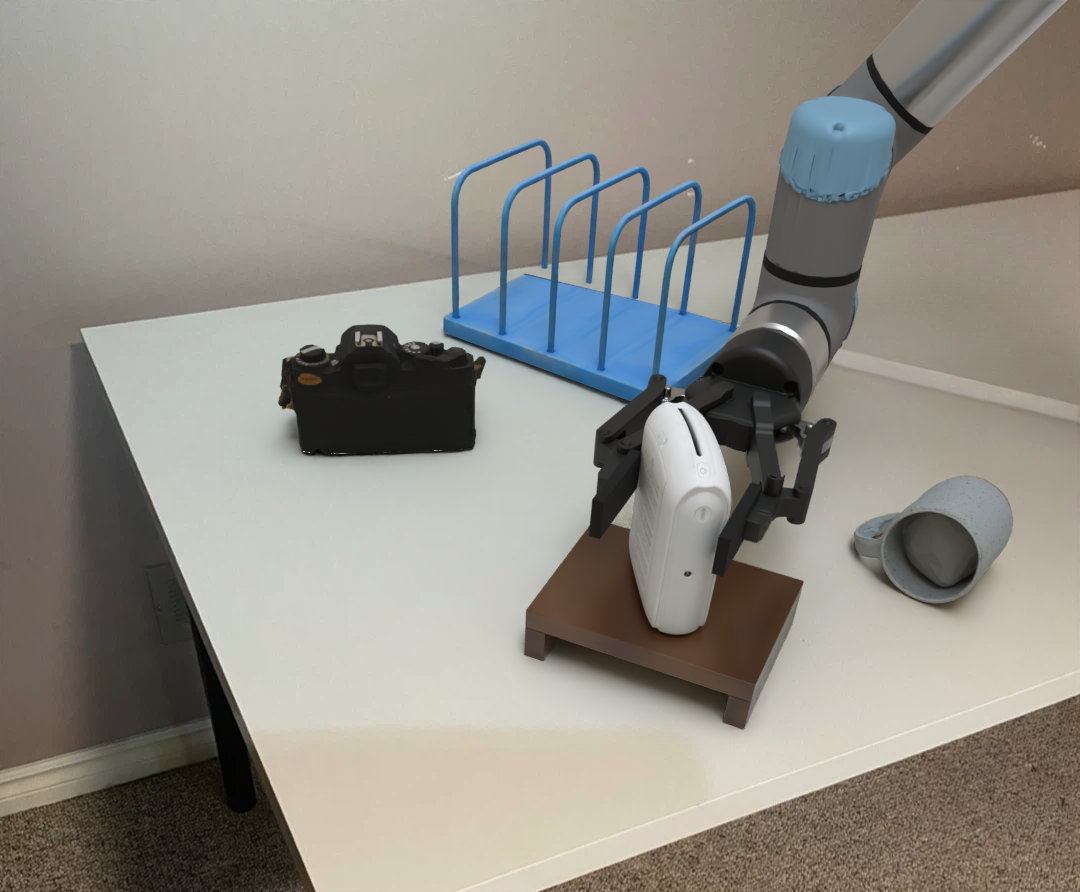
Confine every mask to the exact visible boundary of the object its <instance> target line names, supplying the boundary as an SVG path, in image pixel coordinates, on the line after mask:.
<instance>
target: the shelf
mask: <svg viewBox="0 0 1080 892" xmlns="http://www.w3.org/2000/svg"><path fill="white" fill-rule="evenodd" d="M589 528H590V525H589V526H587V528H586V530H585V531H584V532H583V534H582V535H581V536H580V537H579V539H578V540H577V542H576V543H574V546H572V548H571V550H570V551H569V552H568V553H567V555H566V556H565V557H564V559H563V560H562V562H561V563H560V564H559V565H558V566H557V568H556V570H555V571H554V572H553V574H551V576H550V577H549V579H548V580H547V582H546V583H545V584H544V585H543V587H542V588H541V590H540V591H539V592H538V594H536V596H535V597H534V599H533V600H532V601H531V602H530V604H529V605H528V607H527V608H526V609H525V625H524V649H523V654H524V655H526V656H528V657H531V658H534V659H536V660H540V661H543V662H544V660H545V659H546V658H547V656H548V655H549V654H550V652H551V651H552V649H553V648H554V646H555V645H556V644H557V642H558V640H559V639H560V640H564V641H567V642H569V643H572V644H576V645H579V646H582V647H585V648H587V649H590V650H594V651H597V652H598V653H599V652H600V653H603V654H606V655H607V656H608V655H609V656H612V657H614V658H618V659H621V660H623V661H627V662H629V663H632V664H635V665H639V666H641V667H643V668H644V667H645V668H648V669H651V670H653V671H657V672H659V673H663V674H666V675H668V676H672V677H674V678H677V679H679V680H680V679H681V680H683V681H687V682H688V683H689V682H690V683H692V684H696V685H698V686H702V687H704V688H707V689H710V690H713V691H716V692H719V693H722V694H725V695H728V697H727V701H726V704H725V705H726V706H725V709H724V715H723V718H722V723H724V724H728V725H730V726H733V727H736V728H740V729H742V730H744V729H746V726H747V724H748V722H749V720H750V718H751V715H752V713H753V711H754V708H755V707H756V705H757V702H758V700H759V698H760V697H761V696H760V695H761V694H762V691H763V689H764V687H765V685H766V683H767V681H768V678H769V676H770V673H771V672H772V669H773V667H774V665H775V663H776V661H777V658H778V657H779V654H780V652H781V650H782V647H783V645H784V643H785V641H786V639H787V637H788V635H789V632H790V630H791V628H792V626H793V623H794V620H795V615H796V613H797V609H798V605H799V601H800V598H801V595H802V591H803V587H804V584H805V581H804V580H802V579H799V578H795V577H792V576H789V575H786V574H782V573H778V572H775V571H772V570H769V569H765V568H761V567H759V566H755V565H752V564H748V563H745V562H743V561H742V562H741V561H739V560H735V559H733V560H732V562H731V564H730V566H729V567H728V569H727V571H726V573H725V575H724V576H723V577H722V576H718V575H716V580H715V585H714V589H713V594H712V598H711V602H710V607H709V611H708V616H707V619H706V622H705V624H704V625H703V626H699V627H698V628H697V630H695V631H693V632H691V633H687V634H679V635H676V634H668V633H664V632H661V631H659V630H658V628H654V627H652V626H651V624H650V622H649V620H648V618H647V616H646V613H645V610H644V607H643V604H642V600H641V597H640V593H639V590H638V586H637V582H636V578H635V575H634V571H633V566H632V562H631V558H630V551H629V534H630V528H628V527H625V526H621V525H618V524H614V523H611V525H610V526H609V527H608V529H607V530H606V532H605V533H604V534H603V536H602V537H601V538H600V539H597V538H594V537H591V536H589Z"/></svg>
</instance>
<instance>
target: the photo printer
mask: <svg viewBox="0 0 1080 892" xmlns="http://www.w3.org/2000/svg"><path fill="white" fill-rule="evenodd" d="M641 452H642V455H641V463H640V471H639V479H638V487H637V489H636V490H635V492H634V499H633V507H632V513H631V520H630V528H629V529H630V534H629V551H630V558H631V562H632V566H633V571H634V575H635V578H636V582H637V586H638V590H639V593H640V597H641V600H642V604H643V607H644V610H645V613H646V616H647V618H648V620H649V622H650V624H651V626H652V627H654V628H658V630H659V631H661V632H664V633H668V634H676V635H679V634H687V633H691V632H693V631H695V630H697V628H698V627H699V626H703V625H704V624H705V622H706V619H707V616H708V611H709V607H710V602H711V598H712V594H713V589H714V585H715V580H716V575H715V574H712V573H711V572H712V567H713V562H714V557H715V552H716V547H717V542H718V537H719V535H720V533H721V532H722V530H723V528H724V527H725V525H726V523H727V522H728V520H729V518H730V516H731V515H730V514H731V510H732V489H731V481H730V477H729V474H728V468H727V465H726V462H725V459H724V458H725V457H724V455H723V453H722V449H721V447H720V445H719V444H718V442H717V440H716V437H715V435H714V433H713V431H712V429H711V428H710V426H709V424H708V423H707V421H706V420H705V418H704V417H703V416H702V415H701V414H700V413H699V412H698V411H697V410H696V409H695V408H694V407H692V406H691V405H689V404H687V403H685V402H680V403H670V402H665V403H663V404H661V405H659V406H658V407H657V408H655V409H654V410H653V412H652V413H651V414H650V416H649V417H648V419H647V421H646V424H645V427H644V433H643V440H642V448H641Z"/></svg>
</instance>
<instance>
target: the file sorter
mask: <svg viewBox="0 0 1080 892" xmlns="http://www.w3.org/2000/svg"><path fill="white" fill-rule="evenodd" d="M539 146H540V147H541V148H542V150H543V152H544V158H545V169H544V170H542V171H540V172H537V173H536V174H533V175H531V176H529V177H526V178H525V179H522V180H520V181H519V182H517V183H516V184H515V185H514V186H513V187H512V188H511V189H510V191H509V192H508V194H507V196H506V198H505V201H504V204H503V208H502V212H501V223H500V224H501V225H500V257H499V259H500V261H499V262H500V265H499V269H500V270H499V286H498V287H497V288H495V289H493V290H491V291H489V292H487V293H486V294H484V295H482V296H480V297H478V298H476V299H474V300H472V301H470V302H468V303H466V304H464V305H463V306H461V307H460V271H459V270H460V269H459V265H460V264H459V261H460V259H459V258H460V257H459V256H460V255H459V200H460V193H461V190H462V187H463V184H464V183H465V181H466V180H467V178H468V177H470V175H472V174H473V173H476V172H478V171H480V170H483V169H485V168H487V167H490V166H491V165H494V164H496V163H498V162H502V161H504V160H506V159H508V158H511V157H513V156H516V155H518V154H521V153H523V152H526V151H528V150H531V149H533V148H536V147H539ZM552 158H553V157H552V152H551V147H550V145H549V144H548V142H547V141H545V139H540V138H534V139H532V140H528V141H526V142H524V143H521V144H519V145H516V146H513V147H511V148H509V149H505V150H503V151H501V152H499V153H496V154H494V155H491V156H489V157H487V158H485V159H482V160H480V161H478V162H475V163H473V164H471V165H468V166H466V167H465V168H464V169H463V170H462V171H461V172H460V173H459V175H458V177H457V179H456V180H455V182H454V186H453V188H452V193H451V198H450V199H451V200H450V231H451V233H450V238H451V239H450V240H451V241H450V242H451V246H450V247H451V249H450V250H451V304H452V305H451V307H452V309H451V310H452V312H449V313H448V314H446V315H444V316H443V321H442V324H443V325H442V329H443V330H442V331H443V333H444V334H447V335H449V336H452V337H455V338H458V339H460V340H463V341H465V342H468V343H471V344H474V345H476V346H479V347H482V348H484V349H487V350H490V351H493V352H495V353H498V354H500V355H504V356H506V357H509V358H512V359H514V360H518V361H520V362H523V363H525V364H528V365H532V366H534V367H536V368H538V369H539V368H540V369H541V370H544V371H547V372H550V373H553V374H555V375H558V376H561V377H563V378H567V379H569V380H572V381H574V382H577V383H580V384H582V385H584V386H588V387H590V388H594V389H596V390H599V391H602V392H604V393H607V394H609V395H612V396H615V397H619V398H620V399H624V400H626V401H627V402H628V401H629V402H631V401H632V400H633V399H634V398H635V397H637V396H638V395H639V394H640V393H641V392H643V391H644V390H645V389H646V388H647V386H648V382H649V379H650V377H651V375H654V374H661V375H664V376H665V377H666V378H667V382H666V385H670V386H671V387H675V388H682V389H686V388H687V387H688V386H689V385H690V384H691V383H694V382H697V381H698V380H699V379H701V378H702V377H703V375H704V373H705V371H706V370H707V368H708V367H709V365H710V364H711V362H712V361H713V360H714V358H715V357H716V356H717V354H718V353H719V352H720V350H721V349H722V348H723V347H724V345H725V344H726V342H727V341H728V339H729V338H730V337H731V336H732V334H733V333H734V332H735V331H736V329H737V328H738V321H739V316H740V311H741V310H740V309H741V305H742V304H741V303H742V300H743V299H742V298H743V293H744V287H745V282H746V275H747V272H748V271H747V270H748V265H749V259H750V253H751V246H752V241H753V235H754V229H755V222H756V213H757V208H756V207H757V206H756V201H755V199H754V198H753V196H751V195H746V194H745V195H741V196H740V197H738V198H736V199H734V200H732V201H730V202H729V203H726V204H725V205H724V206H722V207H720V208H718V209H717V210H715V211H713V212H711V213H710V214H707V215H706V216H704V217H703V218H701V213H702V212H701V211H702V201H703V193H702V188H701V185H700V183H698V182H697V181H696V180H691V179H689V180H687V181H684V182H683V183H680V184H679V185H677V186H675V187H673V188H671V189H669V190H667V191H665V192H663V193H662V194H659V195H658V196H656V197H654V198H652V199H650V192H651V179H650V174H649V171H648V170H647V169H646V168H645V166H641V165H635V166H632V167H630V168H628V169H626V170H624V171H622V172H619V173H617V174H615V175H613V176H611V177H608V178H607V179H605V180H603V181H601V167H600V162H599V160H598V157H597V155H596V154H594V153H592V152H586V151H585V152H583V153H580V154H577V155H575V156H573V157H571V158H568V159H566V160H564V161H561V162H558V163H557V164H554V165H553V159H552ZM586 160H590V163H591V164H592V169H593V170H592V171H593V180H592V181H593V182H592V186H590V187H589V188H586V189H584V190H582V191H581V192H577V194H575V195H572V196H570V197H569V198H568V199H567V200H566V201H565V203H564V204H563V205H562V206H561V209H560V211H559V212H558V215H557V217H556V220H555V224H554V228H553V235H552V249H551V250H552V251H551V272H550V279H549V278H546V277H541V276H538V275H534V274H528V273H522V274H521V275H519V276H517V277H516V278H513V279H512V280H509V281H508V255H509V254H508V253H509V252H508V250H509V249H508V245H509V244H508V243H509V222H510V221H509V219H510V213H511V208H512V205H513V203H514V200H515V199H516V197H517V195H519V193H521V191H522V190H524V189H526V188H528V187H530V186H531V185H532V186H533V185H535V184H536V183H539V182H541V181H543V180H544V200H543V201H544V202H543V226H542V227H543V228H542V251H541V253H542V254H541V269H544V270H547V269H548V264H549V263H548V262H549V246H550V245H549V242H550V223H551V221H550V220H551V198H552V197H551V196H552V176H553V175H557V174H558V173H560V172H562V171H565V170H567V169H568V168H569V169H570V168H571V167H573V166H575V165H577V164H580V163H582V162H585V161H586ZM637 174H640V175H641V177H642V186H643V187H642V197H641V205H639V206H637V207H635V208H634V209H632V210H630V211H628V212H627V213H625V214H624V215H623V216H622V217H621V218H620V220H619V221H618V222H617V223H616V226H615V227H614V230H613V232H612V234H611V237H610V240H609V244H608V249H607V254H606V255H607V256H606V264H605V266H606V267H605V276H604V287H603V291H600V290H596V289H592V288H588V287H583V286H580V285H575V284H572V283H571V284H570V283H566V282H562V281H559V265H560V254H561V253H560V252H561V238H562V228H563V224H564V221H565V219H566V216H567V215H568V213H569V212H570V210H571V209H572V208H573V207H574V206H575V205H576V204H578V203H580V202H582V201H584V200H586V199H588V198H590V197H591V210H590V223H589V225H590V226H589V237H588V251H587V252H588V253H587V264H586V265H587V266H586V279H585V283H586V284H588V285H590V284H592V283H593V272H594V263H595V262H594V261H595V259H594V257H595V247H596V236H597V235H596V234H597V222H598V207H599V195H600V192H602V191H604V190H606V189H607V188H610V187H612V186H614V185H616V184H619V183H621V182H622V181H625V180H627V179H629V178H631V177H633V176H635V175H637ZM689 189H692V190H693V192H694V206H693V207H694V208H693V215H692V223H691V225H689V226H688V227H686V228H684V229H683V230H681V232H679V234H677V236H676V237H675V239H674V241H673V243H672V244H671V246H670V249H669V251H668V254H667V257H666V260H665V265H664V271H663V277H662V284H661V293H660V300H659V304H655V303H651V302H647V301H644V300H643V301H642V300H639V299H638V298H639V294H640V293H639V292H640V285H641V276H642V267H643V257H644V248H645V240H646V230H647V223H648V222H647V221H648V212H649V211H650V210H652V209H653V208H656V207H657V206H660V205H661V204H663V203H664V202H666V201H669V200H670V199H672V198H674V197H676V196H678V195H680V194H681V193H683V192H685V191H687V190H689ZM744 204H747V207H748V217H747V223H746V225H747V226H746V230H745V238H744V242H743V248H742V249H743V250H742V255H741V261H740V268H739V272H738V278H737V282H736V283H737V284H736V290H735V295H734V300H733V301H734V302H733V307H732V313H731V319H730V324H727V323H724V322H722V321H718V320H715V319H712V318H709V317H706V316H704V315H700V314H697V313H694V312H690V311H687V310H688V304H689V297H690V289H691V283H692V277H693V269H694V261H695V254H696V247H697V239H698V234H699V233H698V232H699V231H700V230H702V229H703V228H704V227H706V226H708V225H710V224H711V223H713V222H715V221H716V220H718V219H720V218H721V217H723V216H724V215H726V214H728V213H730V212H731V211H733V210H735V209H737V208H739V207H741V206H742V205H744ZM638 217H640V219H639V226H638V228H639V229H638V235H637V248H636V256H635V267H634V276H633V286H632V295H631V298H630V297H626V296H623V295H622V296H621V295H617V294H613V293H612V285H613V284H612V283H613V274H614V273H613V272H614V264H615V263H614V262H615V255H616V250H617V249H616V248H617V244H618V241H619V238H620V235H621V233H622V231H623V230H624V228H625V227H626V226H627V224H628V223H630V222H632V220H635V219H636V218H638ZM688 237H689V241H688V242H689V244H688V251H687V259H686V266H685V273H684V281H683V288H682V294H681V295H682V296H681V302H680V308H679V309H677V308H673V307H669V306H668V301H669V292H670V285H671V277H672V271H673V270H672V269H673V265H674V261H675V258H676V255H677V253H678V251H679V249H680V247H681V246H682V244H683V243H684V242H685V240H686V239H687V238H688Z"/></svg>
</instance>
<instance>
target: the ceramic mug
mask: <svg viewBox="0 0 1080 892" xmlns="http://www.w3.org/2000/svg"><path fill="white" fill-rule="evenodd" d="M1013 526H1014V516H1013V510H1012V507H1011V504H1010V501H1009V500H1008V497H1007V496H1006V495H1005V494H1004V492H1003V491H1002V490H1001V489H1000V488H999V487H998V486H996V485H995V484H994V483H992V482H990V481H988V480H986V479H984V478H981V477H979V476H974V475H958V476H954V477H949V478H946V479H944V480H942V481H939V482H937V483H936V484H934V485H933V486H931V487H930V488H929V489H927V490H926V491H925V492H923V494H921V495H920V496H919V497H918V498H917V499H916V500H914V501H913V502H912V503H911V504H909V505H907V507H905V508H904V509H903V510H902V511H899V512H891V513H886V514H882V515H878V516H874V517H872V518H870V519H868V520H866V521H865V522H862V523H861V524H859V525H858V526H857V527H855V529H854V532H853V538H854V547H855V550H856V551H857V553H858V554H859V555H861V556H863V557H865V558H871V559H878V560H880V562H881V565H882V568H883V571H884V572H885V574H886V576H887V577H888V579H889V580H890V581H891V583H892V584H893V585H894V586H895V587H896V588H897V589H899V590H900V591H901V592H902V593H904V594H905V595H906V596H908V597H910V598H913V599H915V600H917V601H920V602H923V603H927V604H946V603H949V602H953V601H957V600H958V599H960V598H962V597H964V596H966V595H967V594H968V593H970V592H971V590H972V589H973V588H974V587H975V586H976V585H977V584H978V583H979V581H980V580H981V579H982V577H983V576H984V575H985V574H986V572H987V571H988V570H989V569H990V568H991V566H992V565H993V563H994V562H995V561H996V560H997V559H998V557H999V556H1000V555H1001V553H1002V552H1003V551H1004V549H1005V548H1006V547H1007V544H1008V542H1009V540H1010V537H1011V535H1012V533H1013ZM880 535H882V536H881V537H880V538H874V537H877V536H880Z"/></svg>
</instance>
